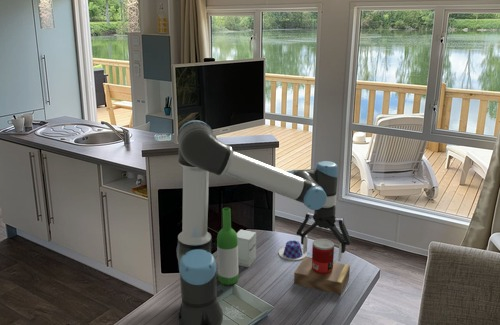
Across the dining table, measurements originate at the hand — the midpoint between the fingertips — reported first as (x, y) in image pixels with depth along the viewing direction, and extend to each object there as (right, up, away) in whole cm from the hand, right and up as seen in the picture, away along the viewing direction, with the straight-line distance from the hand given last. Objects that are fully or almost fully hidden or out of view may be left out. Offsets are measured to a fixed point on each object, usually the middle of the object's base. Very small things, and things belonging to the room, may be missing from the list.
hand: (322, 255), depth 177 cm
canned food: (0, -6, +2) cm, 6 cm away
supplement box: (-29, -6, +17) cm, 35 cm away
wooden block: (0, -10, +3) cm, 11 cm away
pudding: (-9, -4, +23) cm, 25 cm away
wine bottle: (-35, -10, +4) cm, 37 cm away
